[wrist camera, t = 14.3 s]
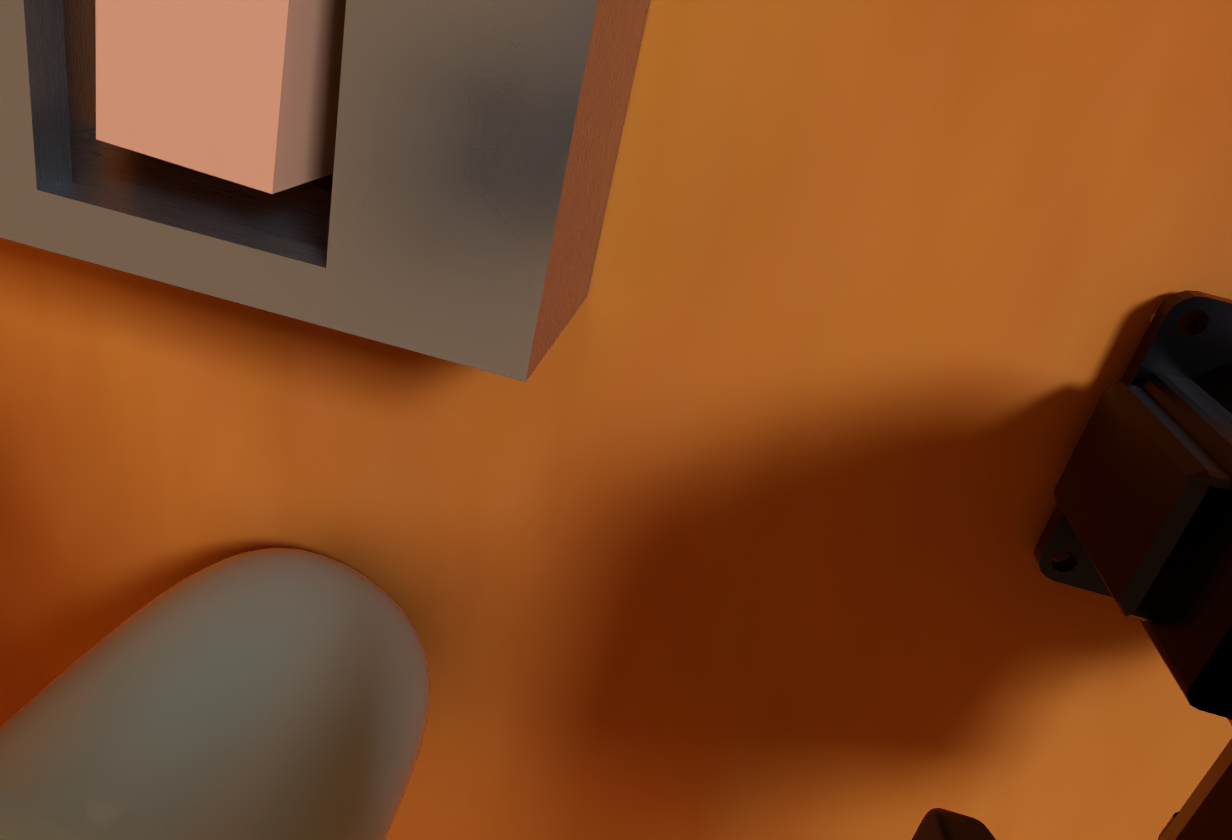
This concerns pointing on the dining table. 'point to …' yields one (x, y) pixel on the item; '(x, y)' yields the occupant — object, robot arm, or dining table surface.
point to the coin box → (357, 175)
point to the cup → (228, 714)
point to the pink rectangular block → (223, 85)
